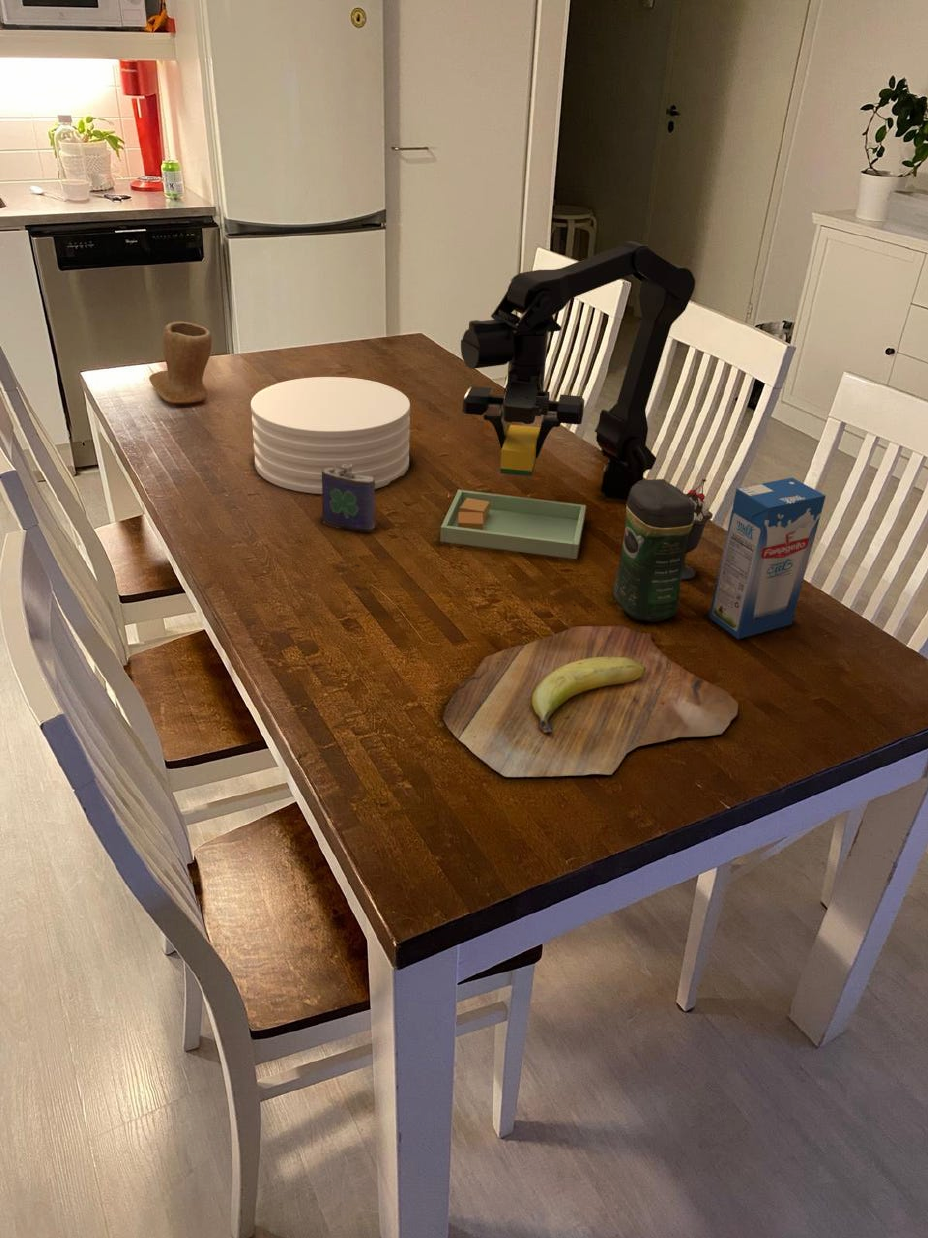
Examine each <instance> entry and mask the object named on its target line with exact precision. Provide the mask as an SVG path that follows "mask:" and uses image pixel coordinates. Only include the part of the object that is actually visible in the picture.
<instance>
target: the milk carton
mask: <svg viewBox="0 0 928 1238" xmlns="http://www.w3.org/2000/svg"><path fill="white" fill-rule="evenodd" d="M826 497H827V495H825V494H823V493H822V492H820V491H819V490H816V489H814V488H813V487H811V486H809V485H807V484H805V483H803V482H802V481H800V480H798V479H795V478H794V477H788V478H783V479H778V480H773V481H768V482H763V483H762V482H761V483H757V484H752V485H747V486H743V487H738V488H736V489H735V494H734V498H733V503H732V508H731V512H730V513H731V514H730V516H729V520H728V521H729V522H728V526H727V531H726V535H725V539H724V545H723V550H722V555H721V559H720V564H719V569H718V573H717V577H716V581H715V582H716V583H715V588H714V591H713V592H714V593H713V595H712V600H711V606H710V611H709V615H708V618H709V619H710V620H712V621H714V623H716V624H717V625H719V627H721V628H722V629H724V630H725V631H727V632H728V633H729V634H730V635H732V636H733V637H734V638H735V639H737V640H741V639H744V638H747V637H748V638H749V637H751V636H755V635H758V634H762V633H765V632H768V631H773V630H776V629H779V628H783V627H787V626H791V625H792V623H793V620H794V616H795V612H796V608H797V606H798V601H799V597H800V594H801V590H802V586H803V582H804V579H805V575H806V571H807V568H808V564H809V561H810V556H811V553H812V549H813V545H814V542H815V537H816V533H817V529H818V527H819V523H820V520H821V515H822V512H823V508H824V504H825V502H826V501H825V500H826Z"/></svg>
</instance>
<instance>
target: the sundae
mask: <svg viewBox="0 0 928 1238" xmlns="http://www.w3.org/2000/svg"><path fill="white" fill-rule="evenodd" d="M706 481H707V479H706V478H702V479H701V482H700V484H699V486H697V487H696V488H695V489H690V490H689V491H688V492H687V493H685V494H686V495H687V496H688V497H689V498H690V499H691V500H692V501H693V502H694V503H695V512H694V523H693V526H692V529H691V531H690V533H689V536H688V540H687V545H686V550H685V557H684V563H683V569H682V576H681V581H682V580H683V581H684V580H690V579H692V578H694V577H695V576H696V571H695V569H694V568H693V567H691V566H690V565H687V564H686V556H687V554H688V553H691V552H693V551H694V550H696V549H697V547H698V545H699V543H700V541H701V538H702V535H703V532H704V531H705V530H704V529H705V527H706V524H707V523H709V522H710V521H711V520H712V518H713V513H712V512H711V511H709V510H710V509H709V505H708V504H707V502H706V501H705V498H706V496H705V493H704V484H705V482H706ZM700 487H701V492H700V493H697V492H698V491H697V490H698V489H699V488H700Z"/></svg>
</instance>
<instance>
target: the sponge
mask: <svg viewBox="0 0 928 1238" xmlns="http://www.w3.org/2000/svg"><path fill="white" fill-rule="evenodd" d="M540 428H541V426H540V427H539V426H530V425H529V426H528V425H518V424H509V428H508V429H507V436H506V439H505V442H504V444H503V447H502V450H501V451H500V452H501V453H500V469H499V472H500V474H506V475H515V476H527V477H532V476H533V473H534V469H535V465H536V461H537V458H535V457H536V446H537V441H538V437H539V432H540Z"/></svg>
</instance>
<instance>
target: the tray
mask: <svg viewBox="0 0 928 1238" xmlns="http://www.w3.org/2000/svg"><path fill="white" fill-rule="evenodd" d="M466 498H471V499H477V500H483V501H490V508H489V516H488V517H487V519H486V521H485V522H484V524H483V530H477V529H469V528H462V527H458V512H460V507H461V506H462V504H463V503H464V501H465V500H466ZM586 509H587V505H586V504H579V503H572V502H564V501H555V500H547V499H538V498H530V497H522V496H514V495H507V494H500V493H499V494H497V493H489V492H483V491H482V492H481V491H473V490H465V489H458V490H457V492H456V494H455V496H454V498H453V500H452V502H451V504H450V506H449V509H448V511H447V513H446V515H445V517H444V519H443V522H442V524H441V525H440V537H439V542H440V543H442V542H443V543H448V544H449V543H450V544H457V545H465V546H473V547H480V548H487V549H497V550H502V551H503V550H504V551H512V552H519V553H526V554H534V555H541V556H542V555H543V556H550V557H556V558H566V559H573V560H578V555H579V549H580V545H581V540H582V535H583V534H582V533H583V529H584V524H585V519H586V511H587V510H586Z"/></svg>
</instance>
